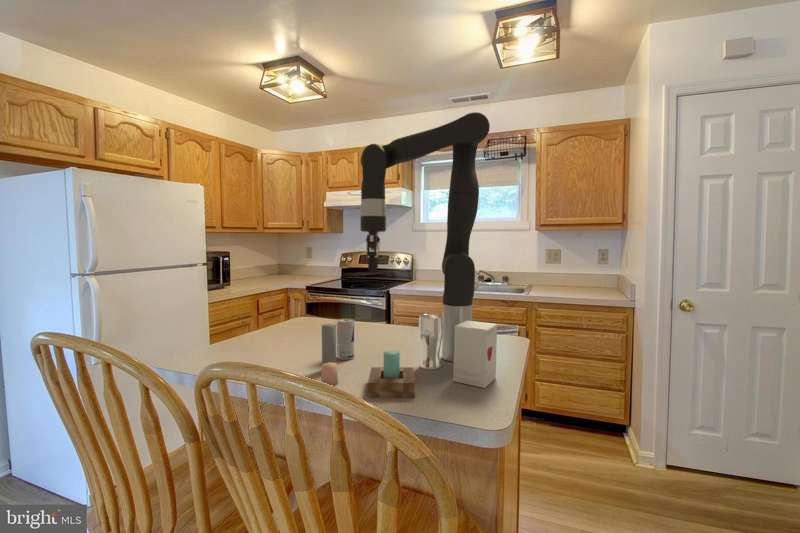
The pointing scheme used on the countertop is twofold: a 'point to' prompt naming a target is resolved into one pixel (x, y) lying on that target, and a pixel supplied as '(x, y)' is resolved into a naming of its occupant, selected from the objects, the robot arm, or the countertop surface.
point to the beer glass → (430, 340)
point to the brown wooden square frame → (391, 383)
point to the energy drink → (345, 339)
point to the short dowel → (330, 373)
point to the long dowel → (328, 343)
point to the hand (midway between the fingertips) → (373, 270)
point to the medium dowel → (391, 365)
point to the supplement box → (475, 353)
